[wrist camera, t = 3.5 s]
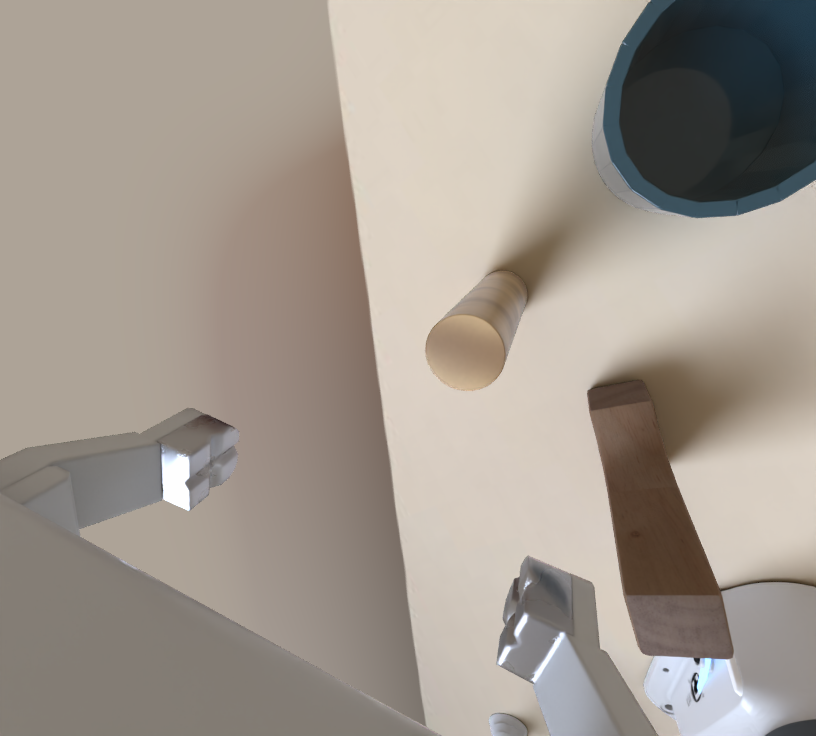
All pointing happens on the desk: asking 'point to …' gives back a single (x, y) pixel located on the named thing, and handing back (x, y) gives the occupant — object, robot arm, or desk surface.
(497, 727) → the chalice
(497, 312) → the rolling pin
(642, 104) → the crock
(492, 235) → the desk surface
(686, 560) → the wooden block
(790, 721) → the robot arm
